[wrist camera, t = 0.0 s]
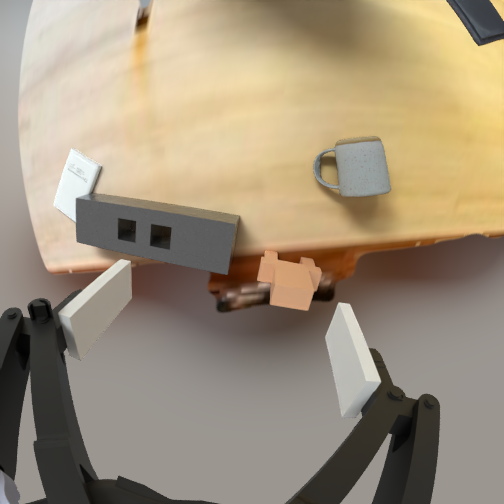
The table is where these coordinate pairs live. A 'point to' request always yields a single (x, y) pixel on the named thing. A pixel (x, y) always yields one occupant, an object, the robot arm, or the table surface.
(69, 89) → the table surface
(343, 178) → the ceramic mug
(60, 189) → the external hard drive
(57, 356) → the robot arm
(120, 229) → the rail
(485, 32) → the dark gray flat slab
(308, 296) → the tan wooden block
